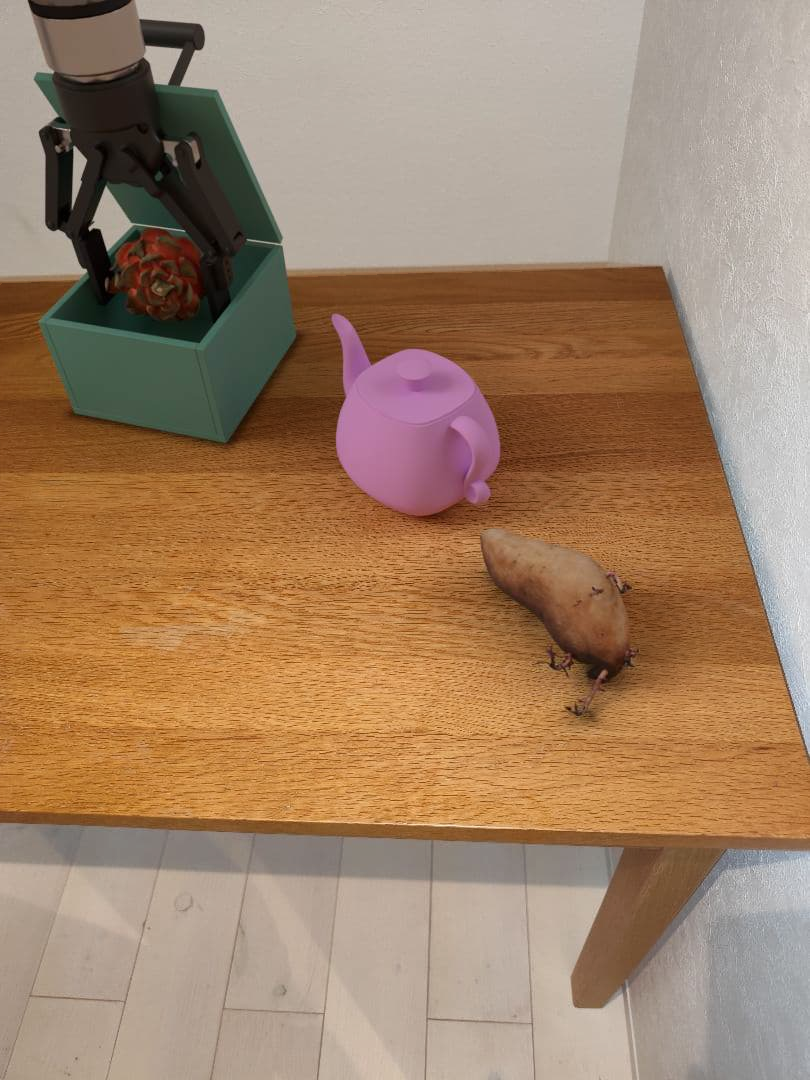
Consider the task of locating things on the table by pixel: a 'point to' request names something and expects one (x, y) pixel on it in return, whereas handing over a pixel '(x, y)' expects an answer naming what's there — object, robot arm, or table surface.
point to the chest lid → (179, 118)
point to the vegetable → (565, 602)
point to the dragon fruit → (159, 276)
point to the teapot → (413, 429)
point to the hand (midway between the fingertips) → (165, 307)
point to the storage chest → (174, 349)
